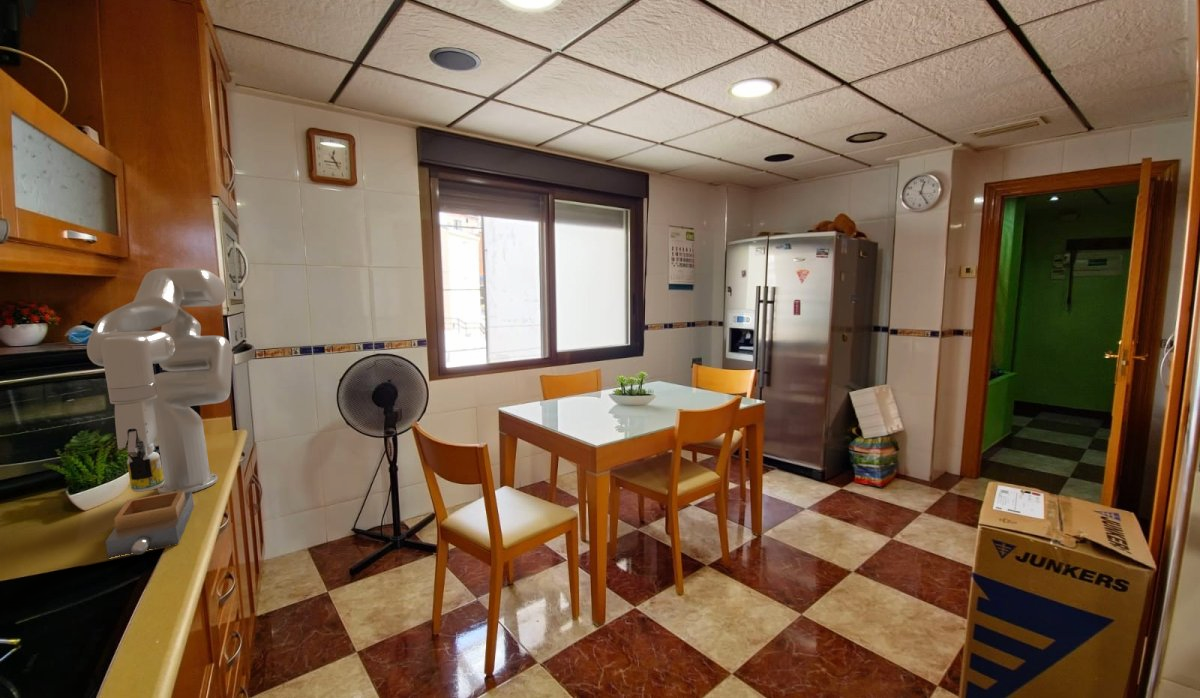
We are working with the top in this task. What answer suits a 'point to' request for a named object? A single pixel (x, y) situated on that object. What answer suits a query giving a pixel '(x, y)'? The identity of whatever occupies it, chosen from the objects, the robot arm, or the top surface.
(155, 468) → the supplement bottle
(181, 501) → the gray brown rimmed box
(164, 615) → the top surface
